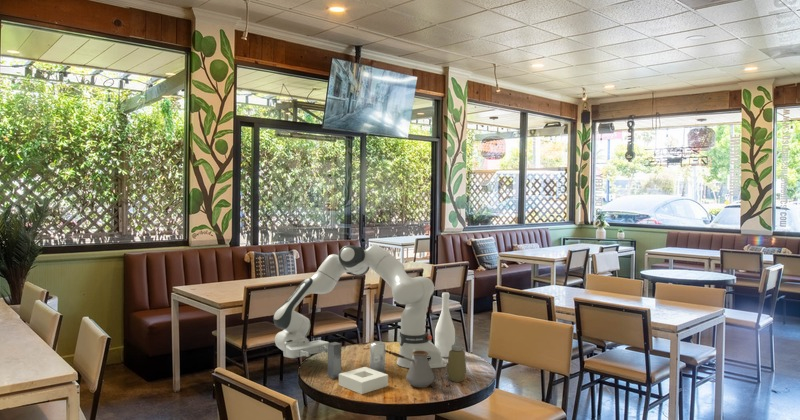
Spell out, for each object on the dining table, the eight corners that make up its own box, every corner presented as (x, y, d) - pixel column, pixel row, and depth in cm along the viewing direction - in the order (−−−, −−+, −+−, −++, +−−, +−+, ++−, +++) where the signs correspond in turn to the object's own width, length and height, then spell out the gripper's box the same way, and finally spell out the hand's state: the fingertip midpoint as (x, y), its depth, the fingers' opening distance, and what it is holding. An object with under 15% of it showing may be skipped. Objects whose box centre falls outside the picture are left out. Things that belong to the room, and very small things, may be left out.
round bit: (383, 368, 248) (384, 341, 247) (386, 372, 241) (386, 345, 241) (369, 368, 247) (369, 341, 246) (370, 373, 240) (371, 345, 240)
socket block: (365, 377, 235) (365, 366, 235) (388, 385, 225) (388, 374, 225) (338, 385, 225) (338, 373, 225) (361, 394, 215) (361, 382, 215)
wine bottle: (456, 353, 272) (458, 291, 271) (451, 358, 263) (452, 295, 263) (438, 351, 276) (439, 290, 275) (432, 356, 267) (433, 293, 266)
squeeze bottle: (443, 378, 235) (444, 335, 235) (460, 375, 239) (461, 333, 238) (452, 384, 228) (453, 340, 228) (469, 381, 231) (470, 338, 231)
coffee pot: (428, 378, 235) (428, 342, 234) (438, 387, 224) (439, 350, 223) (379, 383, 228) (379, 346, 228) (387, 392, 217) (387, 354, 217)
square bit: (334, 374, 238) (335, 341, 237) (340, 377, 235) (341, 343, 234) (327, 376, 235) (327, 343, 235) (333, 379, 232) (333, 345, 232)
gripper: (318, 348, 260) (337, 355, 250) (280, 357, 245) (298, 364, 235) (318, 335, 259) (337, 341, 250) (280, 343, 245) (298, 349, 235)
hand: (318, 352), depth 242 cm, fingers open, 8 cm apart
